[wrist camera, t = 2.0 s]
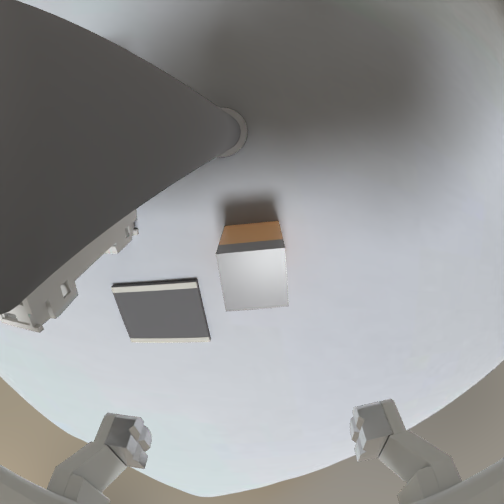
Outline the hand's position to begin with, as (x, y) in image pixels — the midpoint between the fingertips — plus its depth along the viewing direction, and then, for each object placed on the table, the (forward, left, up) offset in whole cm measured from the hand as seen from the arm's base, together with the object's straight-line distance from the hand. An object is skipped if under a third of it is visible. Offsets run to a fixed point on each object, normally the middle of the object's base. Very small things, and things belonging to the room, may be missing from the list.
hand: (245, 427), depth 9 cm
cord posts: (+13, -10, -17) cm, 24 cm away
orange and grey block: (0, 0, -17) cm, 17 cm away
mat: (+10, +6, -17) cm, 21 cm away
